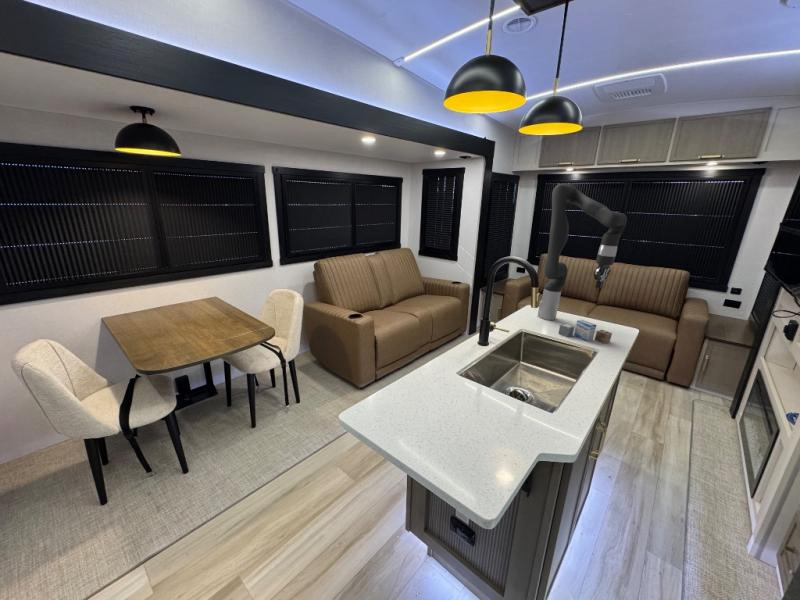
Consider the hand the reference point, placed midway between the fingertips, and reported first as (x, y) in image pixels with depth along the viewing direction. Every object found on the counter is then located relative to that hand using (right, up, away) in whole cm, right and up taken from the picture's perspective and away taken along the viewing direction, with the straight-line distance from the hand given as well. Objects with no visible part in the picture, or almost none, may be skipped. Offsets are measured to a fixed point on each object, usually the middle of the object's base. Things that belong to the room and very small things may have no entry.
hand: (598, 288), depth 163 cm
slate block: (-15, -24, +4) cm, 29 cm away
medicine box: (-8, -26, 0) cm, 27 cm away
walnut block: (0, -27, -2) cm, 27 cm away
